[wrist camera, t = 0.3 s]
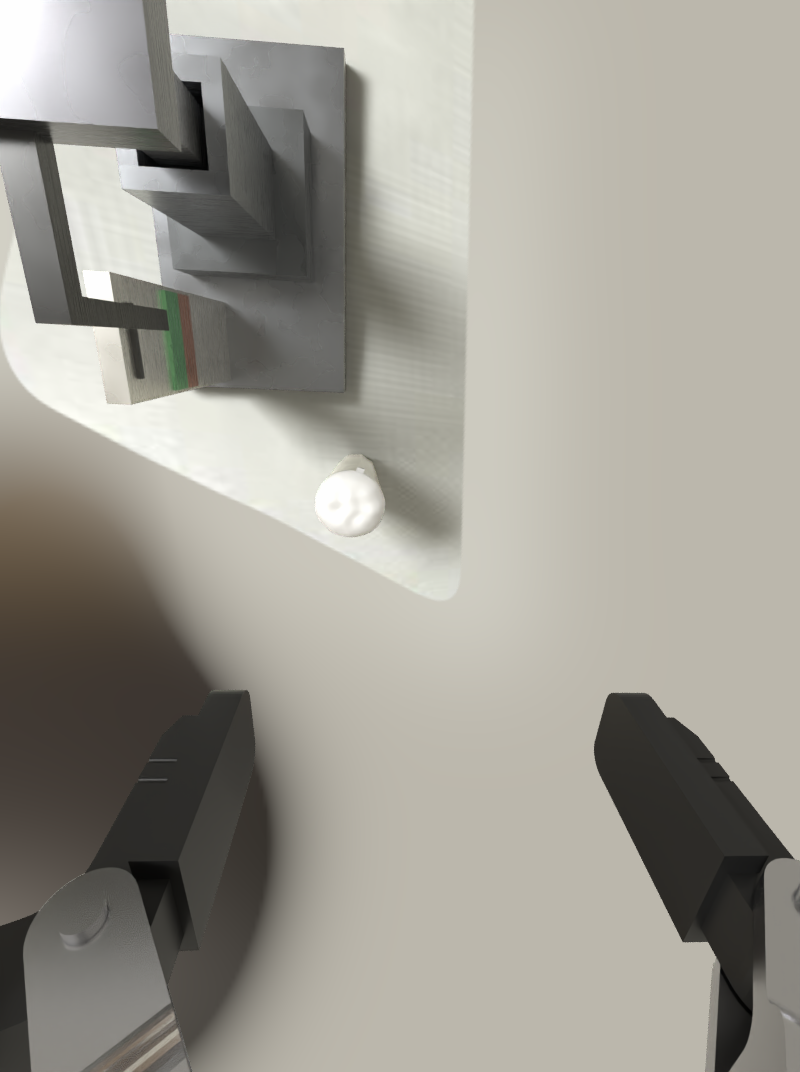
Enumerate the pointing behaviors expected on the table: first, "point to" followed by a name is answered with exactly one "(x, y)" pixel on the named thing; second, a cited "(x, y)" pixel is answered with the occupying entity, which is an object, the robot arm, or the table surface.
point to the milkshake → (351, 498)
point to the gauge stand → (241, 231)
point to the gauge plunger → (84, 129)
